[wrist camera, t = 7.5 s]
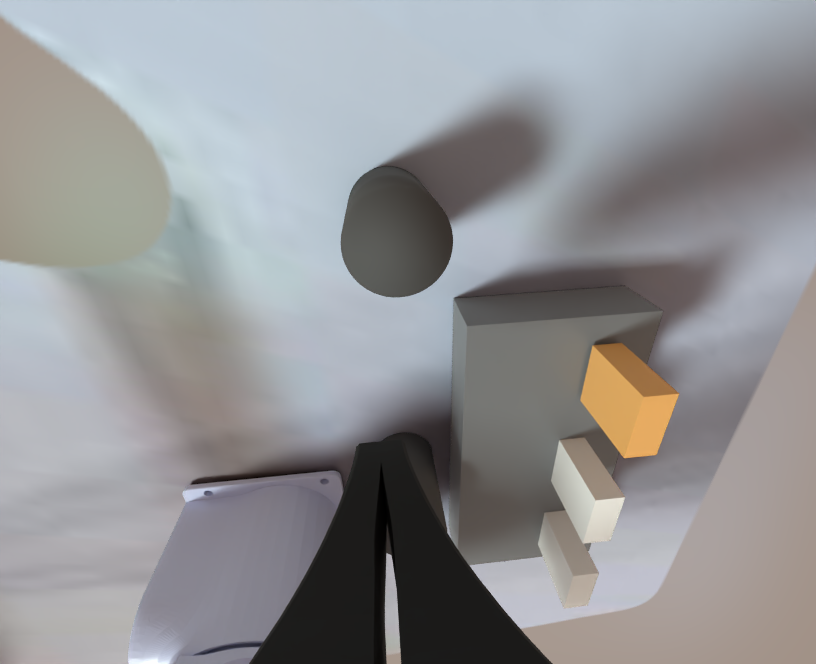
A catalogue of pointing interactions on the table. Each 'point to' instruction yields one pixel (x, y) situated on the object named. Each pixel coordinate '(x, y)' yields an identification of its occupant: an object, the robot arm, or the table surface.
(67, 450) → the table surface
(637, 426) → the block
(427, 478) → the grey short cylinder
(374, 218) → the dark grey cylinder
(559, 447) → the block
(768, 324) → the table surface
